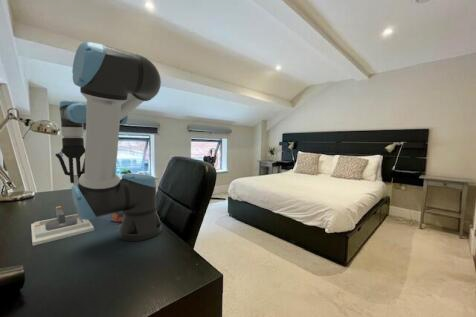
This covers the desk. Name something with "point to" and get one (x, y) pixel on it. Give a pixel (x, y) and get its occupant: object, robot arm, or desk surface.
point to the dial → (60, 220)
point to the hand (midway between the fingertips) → (76, 189)
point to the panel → (58, 230)
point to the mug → (117, 216)
